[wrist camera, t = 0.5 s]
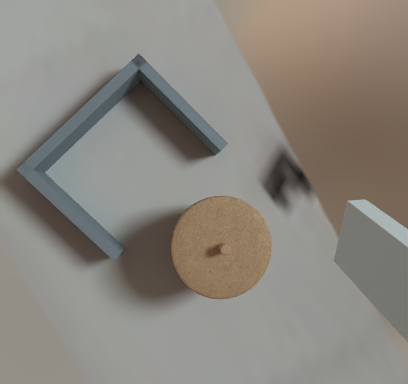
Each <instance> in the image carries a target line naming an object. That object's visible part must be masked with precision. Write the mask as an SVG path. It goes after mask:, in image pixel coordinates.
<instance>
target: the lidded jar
mask: <svg viewBox="0 0 408 384" xmlns="http://www.w3.org/2000/svg"><path fill="white" fill-rule="evenodd" d="M170 250H171V258H172V263H173V265H174V268H175V271H176V272H177V274H178V276H179V278H180V279H181V280H182V281H183V282H184V284H185V285H186V286H188V287H189V288H190V289H191V290H193V291H194V292H196V293H197V294H200V295H202V296H205V297H209V298H213V299H227V298H232V297H236V296H238V295H241V294H243V293H245V292H246V291H248V290H249V289H251V288H252V287H253V286H254V285H255V284H256V283H257V282H258V281H259V280H260V279H261V278H262V276H263V274H264V273H265V271H266V269H267V266H268V264H269V260H270V257H271V237H270V232H269V230H268V227H267V224H266V223H265V221H264V219H263V218H262V216H261V215H260V214H259V212H258V211H257V210H255V209H254V208H253V207H252V206H251V205H249V204H248V203H246V202H244V201H242V200H240V199H237V198H233V197H227V196H215V197H210V198H206V199H203V200H201V201H199V202H197V203H195V204H193V205H192V206H191V207H189V208H188V209H187V210H186V211H185V212H184V213H183V214H182V215H181V216H180V218H179V219H178V221H177V223H176V225H175V227H174V230H173V233H172V237H171V244H170Z"/></svg>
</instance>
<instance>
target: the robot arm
mask: <svg viewBox="0 0 408 384" xmlns="http://www.w3.org/2000/svg"><path fill="white" fill-rule="evenodd" d="M334 261H335V263H336V264H337V265H338V266H339V267H340V268H341V269H342V270H343V271H344V273H345V274H346V275H347V276H348V277H349V278H350V279H351V280H352V281H353V282H354V284H355V285H356V286H357V287H358V288H359V289H360V290H361V291H362V292H363V294H364V295H365V296H366V297H367V298H368V299H369V300H370V301H371V302H372V303H373V305H374V306H375V307H376V308H377V309H378V310H379V311H380V312H381V313H382V314H383V315H384V317H385V318H386V319H387V320H388V321H389V322H390V323H391V324H392V325H393V327H394V328H395V329H396V330H397V331H398V332H399V333H400V334H401V335H402V336H403V338H404V339H405V340H406V341H407V342H408V229H406V228H405V227H404V226H402V225H401V224H399V223H398V222H396V221H395V220H394V219H392V218H391V217H389V216H388V215H387V214H385V213H384V212H382V211H381V210H379V209H378V208H377V207H375V206H374V205H372V204H371V203H369V202H368V201H367V200H352V201H347V205H346V210H345V215H344V218H343V223H342V227H341V232H340V236H339V240H338V245H337V249H336V254H335V258H334Z"/></svg>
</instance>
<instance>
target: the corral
mask: <svg viewBox="0 0 408 384" xmlns="http://www.w3.org/2000/svg"><path fill="white" fill-rule="evenodd" d="M140 81H141V82H142V83H143V84H144V85H145V86H146V87H147V88H148V89H149V90H150V91H151V92H152V93H153V94H154V95H155V96H156V97H157V98H158V99H159V100H160V101H161V102H162V103H163V104H164V105H165V106H166V107H167V108H168V109H169V110H170V111H171V112H172V113H173V114H174V115H175V116H176V117H177V118H178V119H179V120H180V121H181V122H182V123H183V124H184V125H185V126H186V127H187V128H188V129H189V130H190V131H191V132H192V133H193V134H194V135H195V136H196V137H197V138H198V139H199V140H200V141H201V142H202V143H203V144H204V145H205V146H206V147H207V148H208V149H209V150H210V151H211V152H212V153H213V154H214V155H216V154H217V153H219V152H220V151H221V150H222V149H223V148H224V147H225V146H226V145H227V144H228V143H227V142H226V141H225V140H224V139H223V138H222V137H221V136H220V135H219V134H218V133H217V132H216V131H215V130H214V129H213V128H212V127H211V126H210V125H209V124H208V123H207V122H206V121H205V120H204V119H203V118H202V117H201V116H200V115H199V114H198V113H197V112H196V111H195V110H194V109H193V108H192V107H191V106H190V105H189V104H188V103H187V102H186V101H185V100H184V99H183V98H182V97H181V96H180V95H179V94H178V93H177V92H176V91H175V90H174V89H173V88H172V87H171V86H170V85H169V84H168V83H167V82H166V81H165V80H164V79H163V78H162V77H161V76H160V75H159V74H158V73H157V72H156V70H155V69H154V68H153V67H152V66H151V65H150V64H149V63H148V62H147V61H146V60H145V59H144V58H143V57H142V56H141V55H140V54H138V55H137V56H136V57H135V58H134V59H133V60H132V61H131V62H130V63H128V64H127V65H126V66H125V67H124V68H123V69H122V70H121V71H120V72H119V73H118V74H117V75H116V76H115V77H114V78H113V79H112V80H110V81H109V82H108V83H107V84H106V85H105V86H104V87H103V88H102V89H101V90H100V91H99V92H98V93H97V94H96V95H95V96H93V97H92V98H91V99H90V100H89V101H88V102H87V103H86V104H85V105H84V106H83V107H82V108H81V109H80V110H79V111H78V112H76V113H75V114H74V115H73V116H72V117H71V118H70V119H69V120H68V121H67V122H66V123H65V124H64V125H63V126H62V127H61V128H59V129H58V130H57V131H56V132H55V133H54V134H53V135H52V136H51V137H50V138H49V139H48V140H47V141H46V142H45V143H44V144H43V145H41V146H40V147H39V148H38V149H37V150H36V151H35V152H34V153H33V154H32V155H31V156H30V157H29V158H28V159H27V160H26V161H24V162H23V163H22V164H21V165H20V166H19V167H18V168H17V169H16V170H17V171H18V172H19V173H20V174H21V175H22V176H23V177H24V178H25V179H26V180H27V181H29V182H30V183H31V184H32V185H33V186H34V187H35V188H36V189H37V190H38V191H39V192H40V193H41V194H43V195H44V196H45V197H46V198H47V199H48V200H49V201H50V202H51V203H52V204H53V205H54V206H55V207H56V208H58V209H59V210H60V211H61V212H62V213H63V214H64V215H65V216H66V217H67V218H68V219H69V220H70V221H71V222H73V223H74V224H75V225H76V226H77V227H78V228H79V229H80V230H81V231H82V232H83V233H84V234H85V235H87V236H88V237H89V238H90V239H91V240H92V241H93V242H94V243H95V244H96V245H97V246H98V247H99V248H100V249H102V250H103V251H104V252H105V253H106V254H107V255H108V256H109V257H110V258H111V259H112V260H113V261H114V260H115V259H116V258H117V257H118V256H119V255H120V254H121V253H122V251H123V250H124V247H123V246H122V245H121V244H120V243H119V242H118V241H117V240H116V239H115V238H114V237H113V236H112V235H110V234H109V233H108V232H107V231H106V230H105V229H104V228H103V227H102V226H101V225H100V224H99V223H98V222H97V221H96V220H94V219H93V218H92V217H91V216H90V215H89V214H88V213H87V212H86V211H85V210H84V209H83V208H82V207H81V206H80V205H79V204H77V203H76V202H75V201H74V200H73V199H72V198H71V197H70V196H69V195H68V194H67V193H66V192H65V191H64V190H63V189H61V188H60V187H59V186H58V185H57V184H56V183H55V182H54V181H53V180H52V179H51V178H50V177H49V176H48V175H47V174H46V173H45V172H46V171H47V170H48V169H49V168H50V167H51V166H52V165H53V164H54V163H55V162H56V161H57V160H58V159H59V158H60V157H61V156H62V155H63V154H64V153H66V152H67V151H68V150H69V149H70V148H71V147H72V146H73V145H74V144H75V143H76V142H77V141H78V140H79V139H80V138H81V137H82V136H83V135H84V134H85V133H86V132H88V131H89V130H90V129H91V128H92V127H93V126H94V125H95V124H96V123H97V122H98V121H99V120H100V119H101V118H102V117H103V116H104V115H105V114H106V113H107V112H108V111H109V110H111V109H112V108H113V107H114V106H115V105H116V104H117V103H118V102H119V101H120V100H121V99H122V98H123V97H124V96H125V95H126V94H127V93H128V92H129V91H130V90H131V89H133V88H134V87H135V86H136V85H137V84H138V83H139V82H140Z"/></svg>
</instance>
